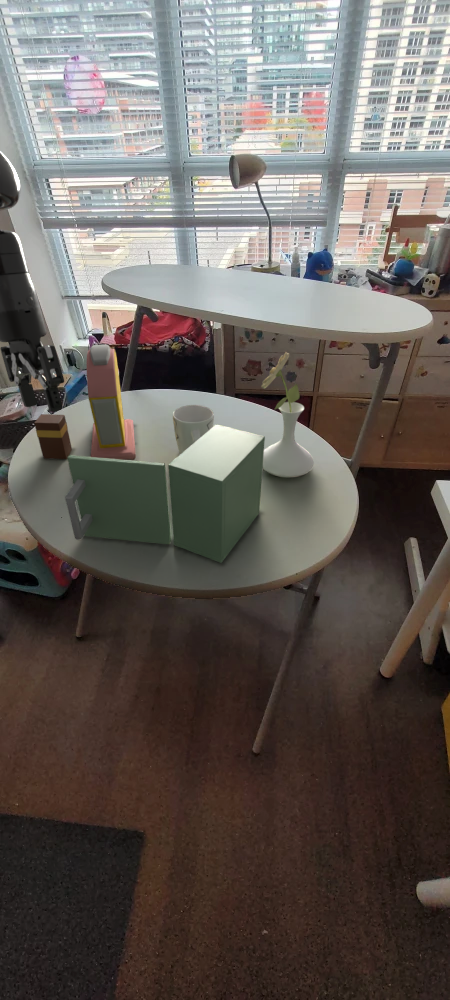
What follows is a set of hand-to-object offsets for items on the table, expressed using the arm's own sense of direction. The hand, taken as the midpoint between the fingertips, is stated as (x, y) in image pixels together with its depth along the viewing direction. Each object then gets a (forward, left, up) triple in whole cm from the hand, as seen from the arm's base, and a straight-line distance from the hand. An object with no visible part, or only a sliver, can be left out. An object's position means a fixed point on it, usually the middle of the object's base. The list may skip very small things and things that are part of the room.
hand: (43, 408), depth 79 cm
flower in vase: (+44, +9, -17) cm, 48 cm away
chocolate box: (-5, +13, -17) cm, 22 cm away
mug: (+25, +12, -17) cm, 32 cm away
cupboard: (+31, -11, -17) cm, 37 cm away
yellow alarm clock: (+6, +18, -17) cm, 25 cm away
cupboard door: (+15, -17, -17) cm, 28 cm away
